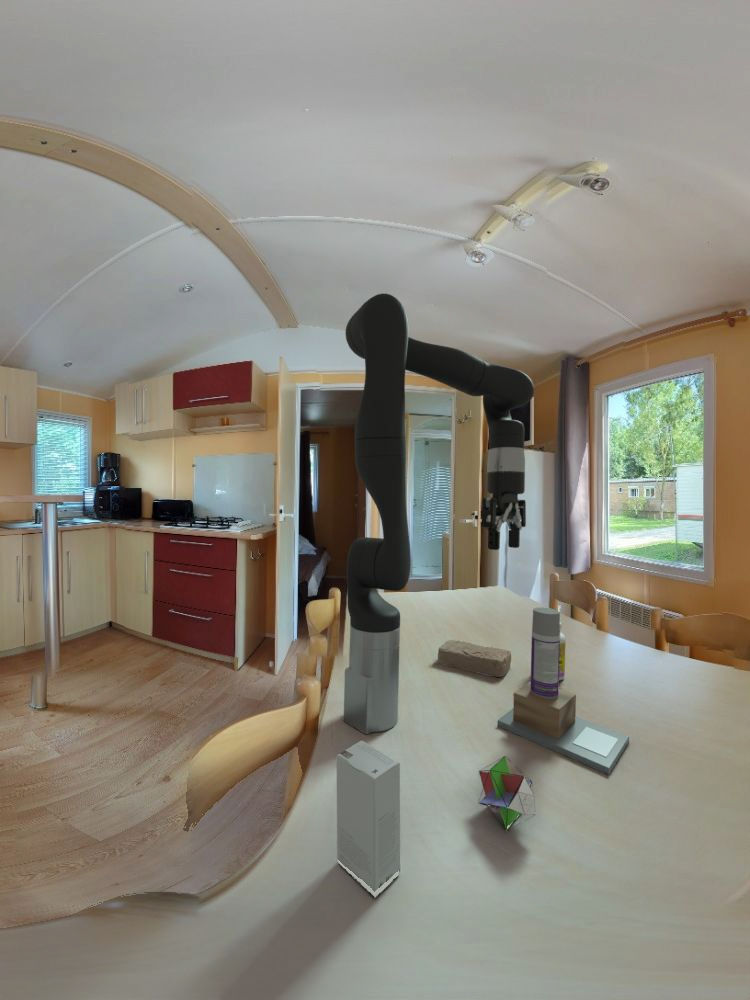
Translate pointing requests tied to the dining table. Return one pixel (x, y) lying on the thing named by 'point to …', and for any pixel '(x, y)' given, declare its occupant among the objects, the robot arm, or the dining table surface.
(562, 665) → the supplement bottle
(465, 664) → the brick
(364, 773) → the skincare box
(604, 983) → the dining table surface
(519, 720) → the walnut plinth
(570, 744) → the slate board
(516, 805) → the geometric puzzle
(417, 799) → the dining table surface
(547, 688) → the container
